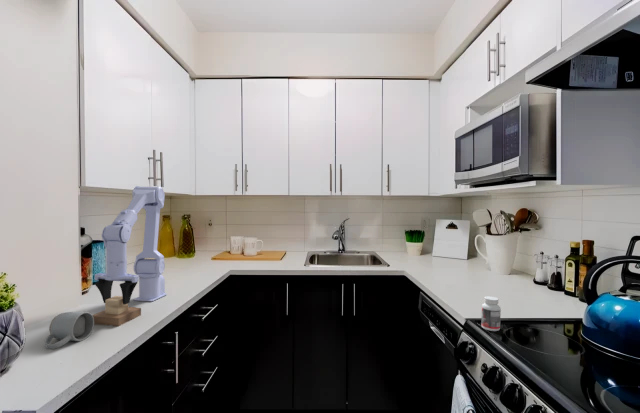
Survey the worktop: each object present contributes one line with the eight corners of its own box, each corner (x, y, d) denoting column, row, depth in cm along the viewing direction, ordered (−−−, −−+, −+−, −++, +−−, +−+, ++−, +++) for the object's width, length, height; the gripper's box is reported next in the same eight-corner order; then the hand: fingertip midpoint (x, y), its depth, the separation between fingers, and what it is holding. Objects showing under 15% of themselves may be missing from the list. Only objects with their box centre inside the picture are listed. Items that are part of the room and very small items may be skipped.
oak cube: (115, 309, 112) (115, 295, 112) (128, 309, 112) (127, 296, 111) (105, 313, 108) (105, 299, 108) (118, 314, 107) (117, 300, 107)
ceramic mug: (69, 332, 99) (69, 306, 99) (95, 334, 98) (94, 308, 98) (35, 349, 88) (34, 320, 88) (63, 351, 88) (62, 322, 87)
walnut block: (115, 314, 116) (115, 305, 116) (140, 316, 114) (141, 307, 114) (90, 325, 106) (90, 315, 106) (118, 327, 104) (118, 318, 104)
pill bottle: (477, 325, 110) (478, 295, 110) (493, 324, 110) (494, 295, 110) (487, 331, 104) (488, 300, 104) (503, 331, 105) (504, 300, 105)
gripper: (86, 262, 106) (86, 305, 107) (127, 265, 104) (127, 308, 105) (104, 258, 113) (104, 298, 114) (143, 260, 111) (143, 301, 112)
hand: (116, 302), depth 110 cm, fingers open, 6 cm apart
